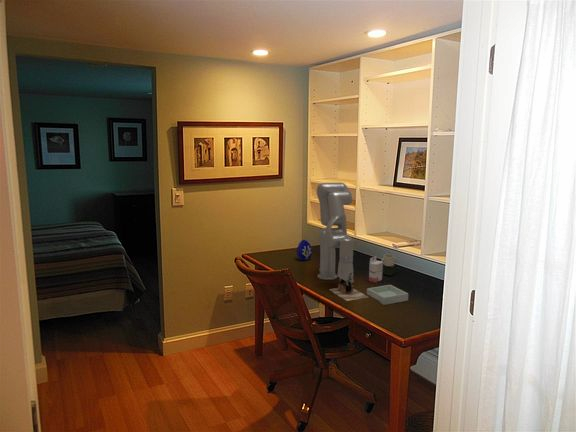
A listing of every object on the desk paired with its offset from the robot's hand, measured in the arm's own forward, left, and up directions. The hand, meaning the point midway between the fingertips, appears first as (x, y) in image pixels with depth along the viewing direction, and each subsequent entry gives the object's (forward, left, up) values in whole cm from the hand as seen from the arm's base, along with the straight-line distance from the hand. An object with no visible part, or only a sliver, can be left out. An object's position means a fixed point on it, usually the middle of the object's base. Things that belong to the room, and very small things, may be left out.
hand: (345, 289), depth 257 cm
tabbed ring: (0, +1, -1) cm, 2 cm away
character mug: (-18, +43, -2) cm, 47 cm away
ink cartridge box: (-12, +29, -2) cm, 31 cm away
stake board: (+3, 0, -2) cm, 4 cm away
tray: (+16, +17, -2) cm, 23 cm away
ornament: (-72, +9, -2) cm, 73 cm away
